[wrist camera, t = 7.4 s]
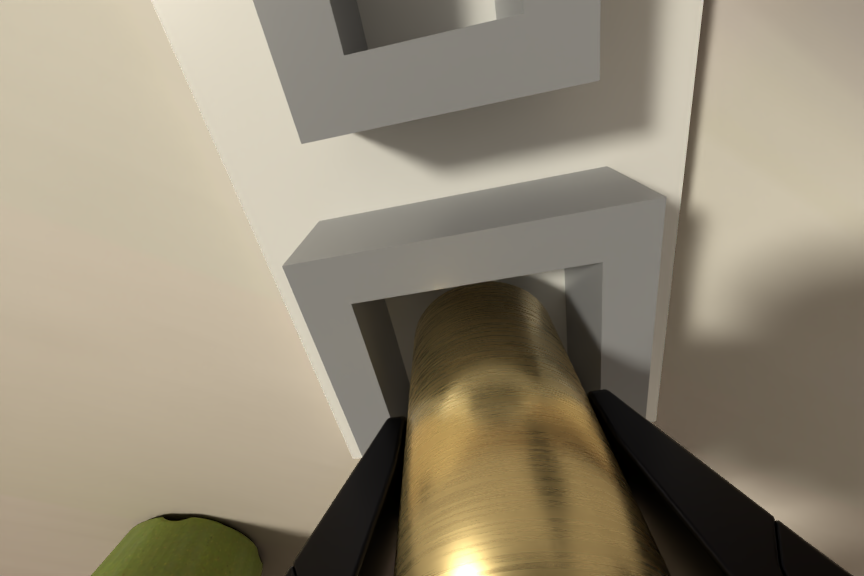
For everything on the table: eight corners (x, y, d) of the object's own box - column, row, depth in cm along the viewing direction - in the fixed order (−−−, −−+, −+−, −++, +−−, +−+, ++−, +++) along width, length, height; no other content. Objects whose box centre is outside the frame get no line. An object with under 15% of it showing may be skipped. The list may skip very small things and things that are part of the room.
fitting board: (724, -503, 6) (1100, -1263, 3) (643, 402, 16) (703, 496, 12) (62, -269, 7) (-274, -579, 4) (357, 439, 17) (336, 535, 13)
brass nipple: (549, 269, 10) (811, 718, 3) (555, 384, 12) (726, 824, 5) (400, 294, 10) (323, 741, 3) (429, 401, 12) (418, 829, 5)
